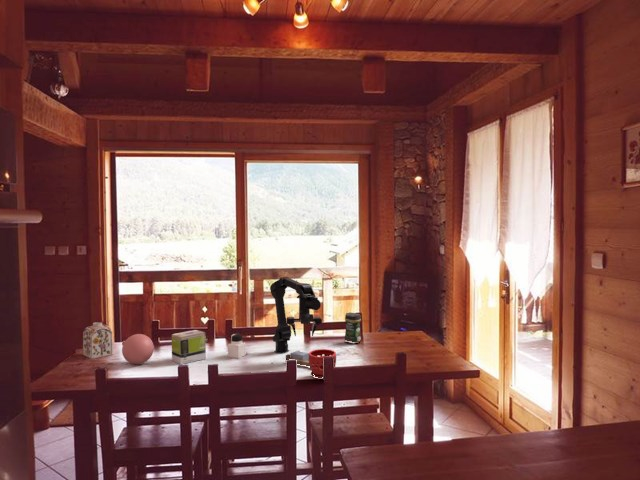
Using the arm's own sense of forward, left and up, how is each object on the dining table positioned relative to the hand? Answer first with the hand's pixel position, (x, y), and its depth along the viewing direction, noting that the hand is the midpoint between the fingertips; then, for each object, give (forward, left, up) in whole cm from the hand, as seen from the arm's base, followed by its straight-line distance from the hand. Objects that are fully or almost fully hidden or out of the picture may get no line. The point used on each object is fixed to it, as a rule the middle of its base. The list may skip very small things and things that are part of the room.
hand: (303, 336), depth 259 cm
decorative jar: (-100, -56, -13) cm, 115 cm away
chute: (+5, -6, -13) cm, 15 cm away
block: (+1, -6, -13) cm, 14 cm away
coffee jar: (+4, +47, -13) cm, 49 cm away
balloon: (-70, -54, -13) cm, 89 cm away
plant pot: (+24, -20, -13) cm, 34 cm away
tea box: (-51, -35, -13) cm, 63 cm away
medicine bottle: (-35, -15, -13) cm, 40 cm away
